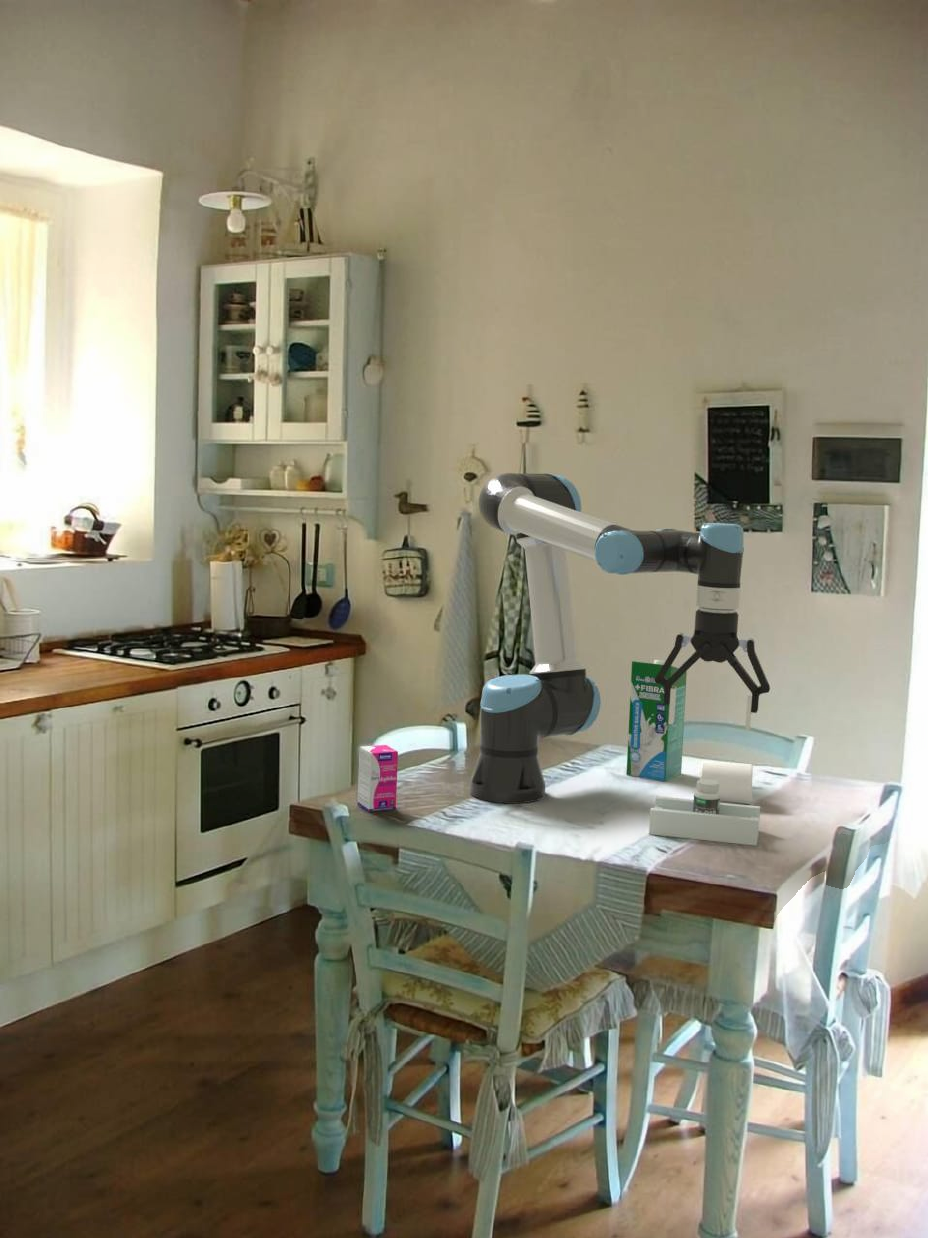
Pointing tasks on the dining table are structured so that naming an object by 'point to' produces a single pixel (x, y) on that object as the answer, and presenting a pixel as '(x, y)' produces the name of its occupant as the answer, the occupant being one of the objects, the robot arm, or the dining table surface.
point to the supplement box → (377, 778)
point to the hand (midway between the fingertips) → (709, 726)
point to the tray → (705, 821)
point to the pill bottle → (707, 797)
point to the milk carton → (654, 724)
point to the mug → (730, 780)
